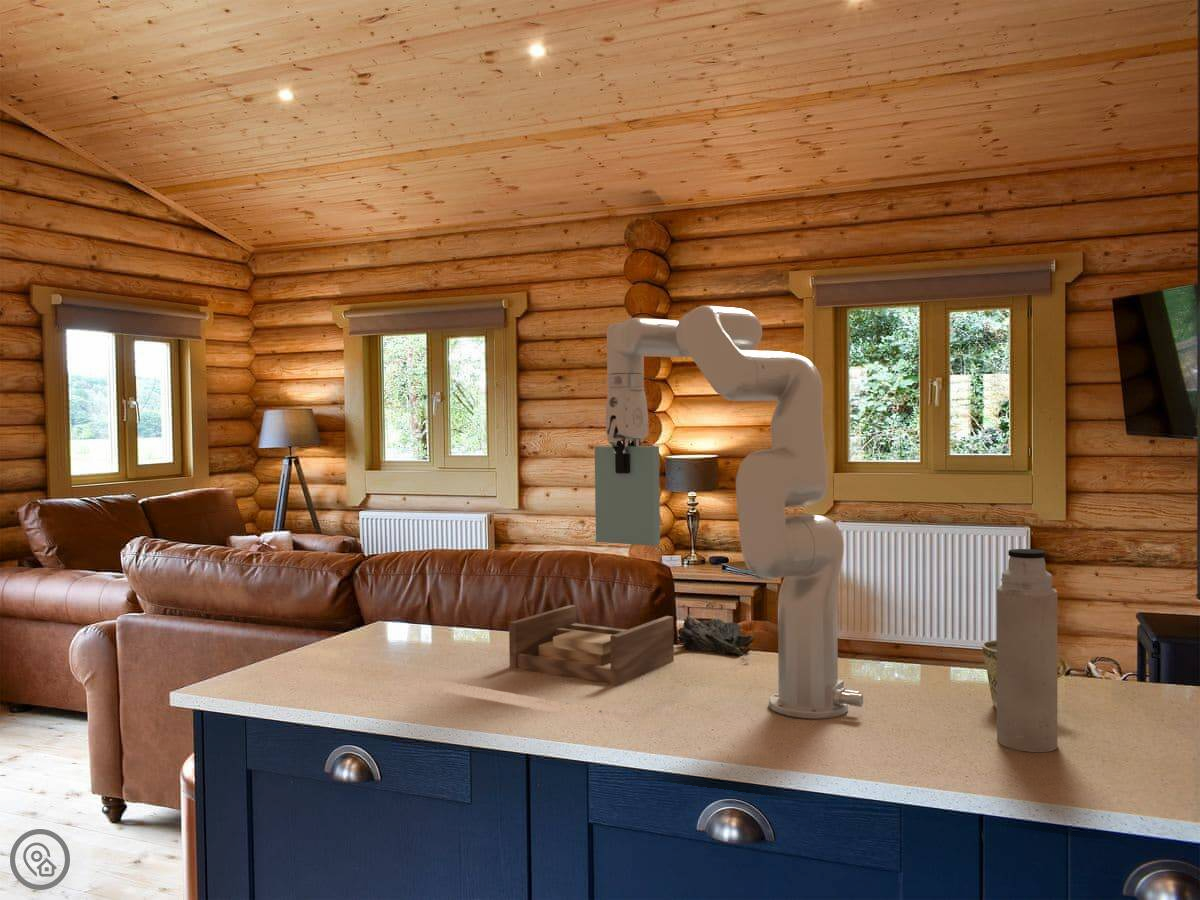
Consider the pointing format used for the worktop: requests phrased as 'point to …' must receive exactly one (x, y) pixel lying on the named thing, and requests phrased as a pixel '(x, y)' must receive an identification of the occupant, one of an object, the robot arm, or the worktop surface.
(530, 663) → the walnut rack
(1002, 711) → the thermos bottle
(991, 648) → the ceramic cup
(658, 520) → the teal sheet
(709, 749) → the worktop surface
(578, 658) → the offcut stack
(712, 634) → the mineral specimen
